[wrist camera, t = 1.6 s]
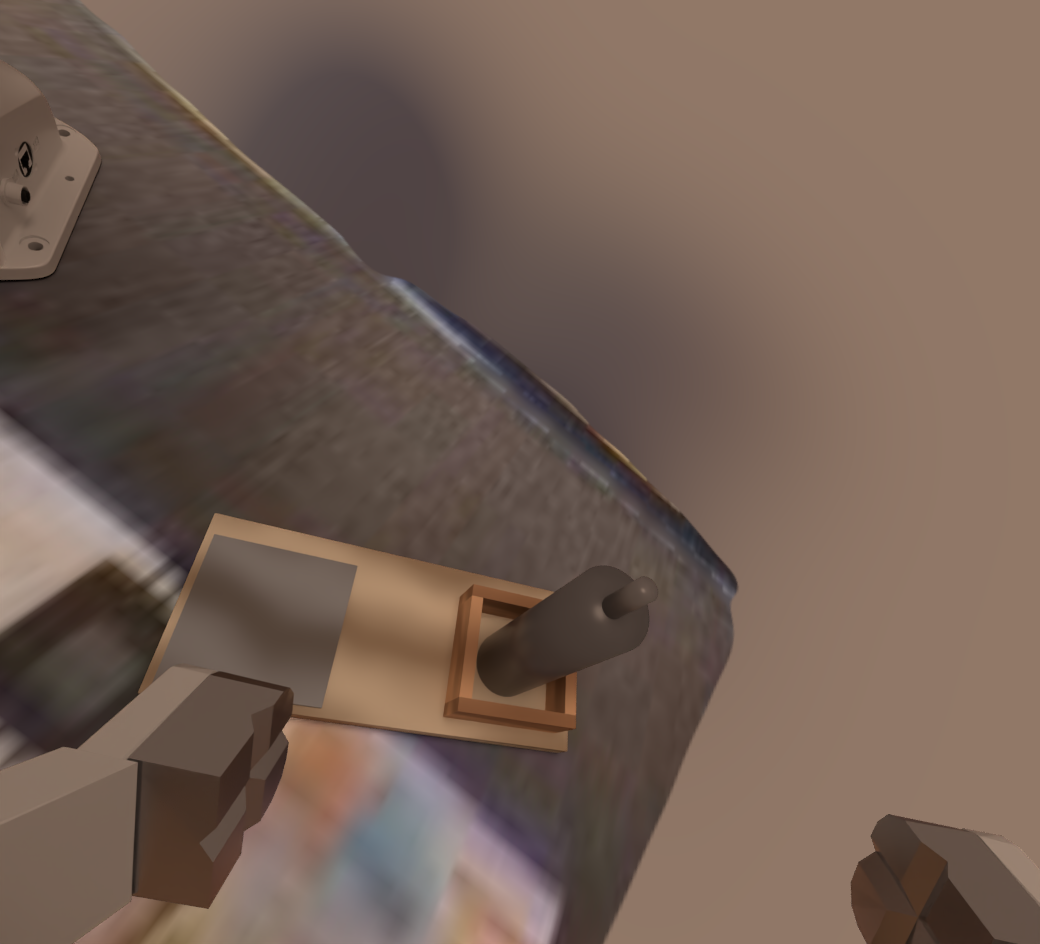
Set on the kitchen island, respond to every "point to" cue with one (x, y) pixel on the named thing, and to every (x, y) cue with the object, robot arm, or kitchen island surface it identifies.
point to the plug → (568, 631)
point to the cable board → (359, 636)
